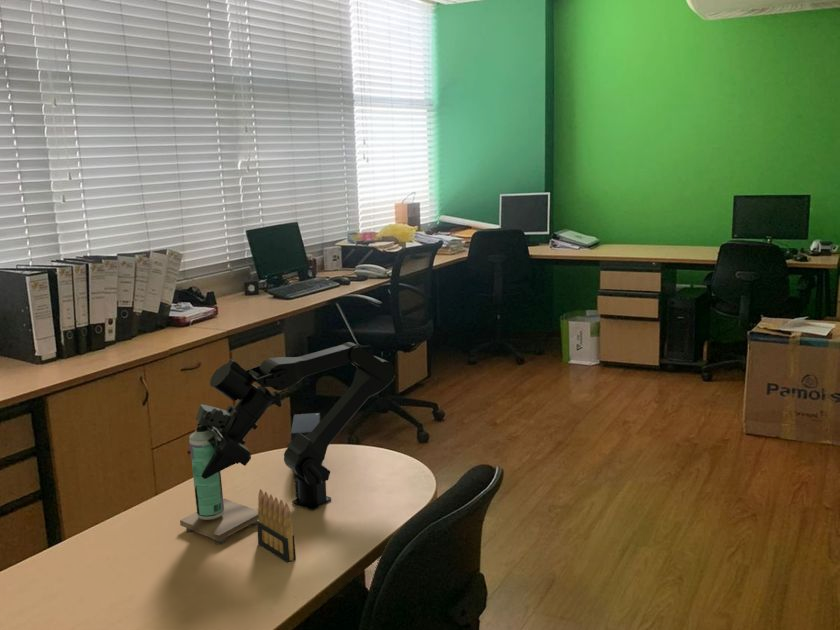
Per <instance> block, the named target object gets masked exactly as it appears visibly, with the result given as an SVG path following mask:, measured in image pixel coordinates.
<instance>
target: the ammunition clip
mask: <svg viewBox="0 0 840 630" xmlns="http://www.w3.org/2000/svg"><path fill="white" fill-rule="evenodd" d="M257 500H258V501H257V502H258V503H257V505H258V507H257V510H258V519H259V520H258V521H257V525H256V526H257V529H256V530H257V545H259V546H260V547H261V548H263V549H265V550H267V551H269V552H270V553H271V554H273V555H274V556H276V557H277V558H279V559H280V560H282V561H284V562H286V563H287V564H289V563H291V562H294V561H295V560H297V554H296V543H295V540H296V539H295V535H294V534H293V524H292V519H291V511H290V506H289V504H288V503H287V502H285V503H284V502H283V500H282V499H280V500H278V498H277V497H273V495H272V494H270V495H269V494H268V493H267V491H265V492H263V490H262V489H261V488H260V489H259V491H258V499H257Z"/></svg>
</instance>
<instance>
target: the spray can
mask: <svg viewBox="0 0 840 630" xmlns="http://www.w3.org/2000/svg"><path fill="white" fill-rule="evenodd" d="M196 427H197V428H196V429H195V430H194V432H193V433H191V434H190V435H189V441H188V442H189V449H190V459H191V467H192V476H193V477H192V478H193V487H194V495H195V496H194V497H195V506H196V512H197V515H198V517H199V518H200V519H204V520H210V519H215V518H218V517H220V516H222V515H223V514H224V503H223V499H224V495H223V485H222V484H223V483H222V473H221V471H219V472H218V473H216V474H214V475H212V476H210V477H208V478H206V479H204V478H202V477H201V475H202V473H203V471H204V469H205V468H206V466H207V465H208V463H209V461H210V460H211V458H212V456H213V455H214V444H216V445H217V446H218V443H217V436H216V432H214V431H211V430H209V428H208V427H206V426H203V425H200V424H199V423H197V426H196Z"/></svg>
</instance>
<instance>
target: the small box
mask: <svg viewBox="0 0 840 630" xmlns="http://www.w3.org/2000/svg"><path fill="white" fill-rule="evenodd" d="M320 421H321V413H320V412H315V413H301V414H293V418H292V426H291V430H290V431H291V432H290V438H291V439H290V440H291V442H292V440H293V439H294V437H295V436H296V435H297V434H298V433H301V434H302V435H303V436H304V435H306V434H308V433H310V432H312V431H313V429H314V428H315V427H316V426H317V425H318V424H319V422H320ZM291 442H290V443H291ZM321 465H322V466H323V463H322V464H321ZM296 475H297V474H296V473H294V472H293V478H294V479H296Z"/></svg>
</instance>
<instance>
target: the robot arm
mask: <svg viewBox="0 0 840 630" xmlns="http://www.w3.org/2000/svg"><path fill="white" fill-rule="evenodd" d="M350 364H351V365H353V366H355V367H356V370H355V372H354V377H353V380H352V383H351V385H350V386H349V387H348V389H347V390H346V391H344V393H343V394H342V395H341V397H340V398H339V399H338V400H337V401H336V402H335V404H334V405H333V406H332V407H331V408H330V410H329V411H327V413H326V414H325V416H324V417H322V419H320V422H319V424H318V425H317V426H316V427H315V428H314V429H313V431H312V432H310V433H308V434H306V435H304V436H303V435H302V434H301V433H298V434H297V435H296V436H295V437H294V439H293V440H292V442H289V443H287V444H286V449H285V451H284V453H283V461H284V464H285V466H287V467H288V468H289V469H290V470H291V471H292V472H293V474H294V473H296V474H297V475H296V478H295V481H294V488H295V499H293V500H291V503H292V505H295V506H299V507H301V508H304V509H307V510H310V511H314V510H316V509H318V508H320V507H322V506H323V505H325V504H327V503H329V502H331V501H332V497H331V496H328V495H327V483H326V482H327V481H329V479H330V474H331V471H330V470H329V468H327V467H325V466H324V465H323V462H324V461H325V458H326V455H327V450H328V447H329V445H330V444H331V443H332V441H334V439H335V438H336V437H337V436H338V434H339V433H341V431H342V430H343V428H344V427H345V426H346V425H347V424H348V422H349V421H350V420H351V419H352V418H353V416H355V414H356V413H357V412H358V411H359V409H360V408H362V406H363V405H364V404H365V402H367V400H368V399H370V397H373V396H375V395H376V394H379V393H380V392H382V391H383V390H384V389H385V388H387V387H388V386H389V385H391V383H392V382H393V381H394V379H395V377H396V375H395V371H396V370H395V366H394V364H393V363H391V362H390V361H387V360H386V359H383V358H381V357H378V356H376V355H373V354H370V352H367V351H366V350H365V349H363V348H362V346H361V345H358V344H356V343H354V342H351V341H348V342H344V343H342V344H340V345H337V346H331V347H329V348H325V349H322V350H318V351H316V352H311V353H308V354H304V355H300V356H293V357H291V356H281V357H280V356H277V357H270V358H269V357H268V358H266V359H264V360H263V361H262V362H261V364H259V365H256V366H253V367H250V368H248V369H244V368H243V367H242V366H241V365H240V364H239V363H238V362H236V361H235V360H233V359H229V360H228V361H227V363H225V364H222V365H221V366H220V367H219V368H218V369H216V370H215V371H214V372H213V374H212V375H211V378H210V381H209V386H210V387H212V388H213V389H214V390H216V391H218V392H219V393H221V394H222V395H223V396H225V397H226V398H228V399H229V400H230V401H232V402H234V401H237V402H236V404H235V405H234V406H233V405H232V404H231V405H228V406H227V407H226V409H222V408H219V407H216V406H210V405H207V404H200V405H199V408H198V411H197V413H196V416H195V420H196V421H197V424H200V425H203V426H206V427H207V428H209V430H211V431H214V432H216V436H217V443H218V446H217V445H216V444H214V455H213V456H212V458H211V460H210V461H209V463H208V465H207V466H206V468H205V469H204V471H203V473H202V475H201V477H202V478H204V479H206V478H208V477H210V476H212V475H214V474H216V473H218V472H219V471H220V472H221V471H224V470H225V469H227V468H230V467H231V466H233V465H238V464H241V465H243V466H245V467H246V466H247V465H248V463H249V462H250V461H251V459H252V455H251V454H252V453H251V452H250V450H249V449H248V447H247V446H246V445H244V444H245V443H246V440H244V439H245V438H246V437H247V435H248V434H249V432H250V431H252V429H253V430H254V431H256V429H257V428H258V427H259V425H258V424H257V422H258V421H259V420H260V418H262V416H263V415H264V414H265V412H266V411H267V409H268V408H269V407H270V405H272V403H273V404H274V405H275V406H277V407H279V408H281V407H282V399H281V396H282V395H281V393H280V391H285V390H286V389H288V388H291V387H292V386H294V385H296V384H298V383H299V382H300V381H302V380H303V379H304V378H307V377H308V376H311V375H315V374H319V373H322V372H324V371H329V370H331V369H336V368H338V367H341V366H342V367H343V366H345V365H350ZM254 383H256V384H258V385H259V386H256V385H254ZM268 388H272V389H273V390H275V391H271V390H270V389H268ZM278 391H279V392H278ZM321 464H322V465H321Z"/></svg>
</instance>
